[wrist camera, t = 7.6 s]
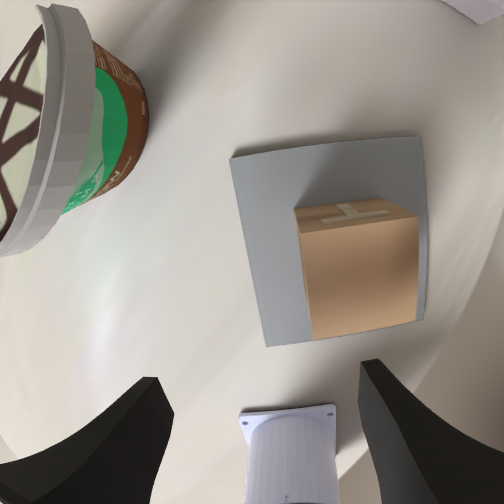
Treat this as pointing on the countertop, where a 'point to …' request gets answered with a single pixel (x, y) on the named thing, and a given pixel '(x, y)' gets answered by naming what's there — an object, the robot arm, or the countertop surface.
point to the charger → (479, 9)
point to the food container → (63, 127)
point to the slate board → (312, 194)
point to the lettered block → (358, 265)
